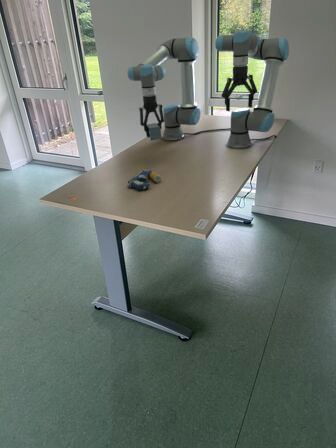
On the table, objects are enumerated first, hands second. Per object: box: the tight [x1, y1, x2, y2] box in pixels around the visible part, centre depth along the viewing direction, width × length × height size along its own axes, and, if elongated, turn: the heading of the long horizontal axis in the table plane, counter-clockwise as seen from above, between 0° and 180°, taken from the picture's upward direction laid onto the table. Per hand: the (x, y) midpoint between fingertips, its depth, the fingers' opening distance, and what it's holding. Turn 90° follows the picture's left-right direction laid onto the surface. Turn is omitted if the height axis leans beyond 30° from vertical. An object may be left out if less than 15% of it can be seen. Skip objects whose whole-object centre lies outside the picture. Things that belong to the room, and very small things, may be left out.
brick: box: [145, 122, 162, 142], centre depth 198 cm, size 7×9×7 cm
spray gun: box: [126, 169, 162, 191], centre depth 181 cm, size 21×4×15 cm
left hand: (153, 135), depth 200 cm, fingers closed on brick, 7 cm apart
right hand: (239, 109), depth 180 cm, fingers open, 13 cm apart
